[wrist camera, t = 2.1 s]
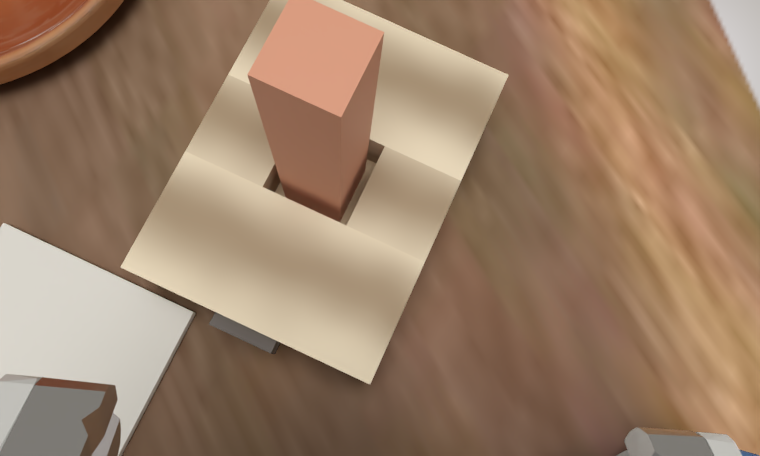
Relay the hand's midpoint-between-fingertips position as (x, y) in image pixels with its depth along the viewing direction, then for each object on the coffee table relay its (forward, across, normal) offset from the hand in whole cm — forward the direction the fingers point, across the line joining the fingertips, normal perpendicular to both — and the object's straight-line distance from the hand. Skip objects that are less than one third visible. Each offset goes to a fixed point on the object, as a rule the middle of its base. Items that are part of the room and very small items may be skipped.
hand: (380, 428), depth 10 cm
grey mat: (+16, +14, +19) cm, 28 cm away
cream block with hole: (+23, 0, +11) cm, 26 cm away
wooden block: (+21, +1, +9) cm, 23 cm away
